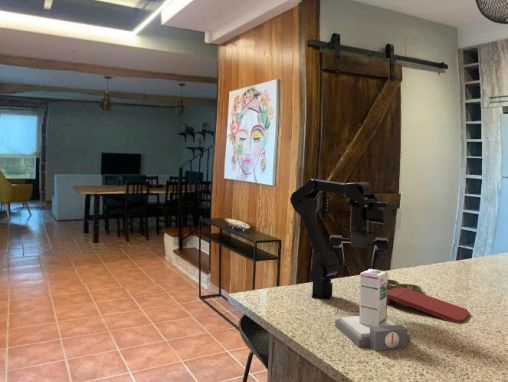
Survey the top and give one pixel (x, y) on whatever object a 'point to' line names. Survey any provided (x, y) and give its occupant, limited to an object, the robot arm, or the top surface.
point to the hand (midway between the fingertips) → (357, 268)
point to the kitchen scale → (374, 334)
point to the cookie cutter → (403, 286)
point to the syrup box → (373, 297)
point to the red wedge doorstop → (428, 304)
